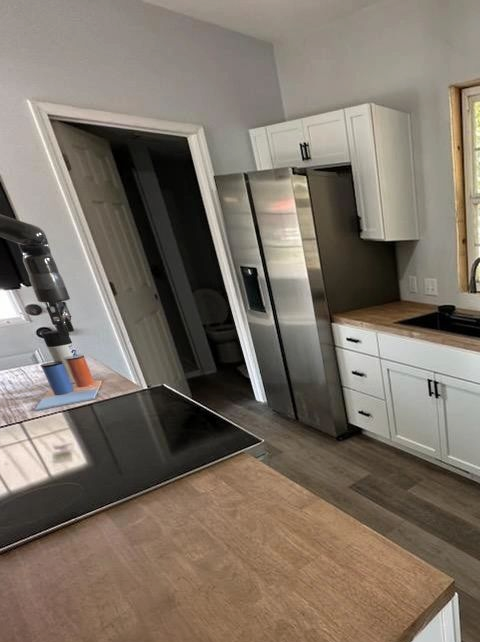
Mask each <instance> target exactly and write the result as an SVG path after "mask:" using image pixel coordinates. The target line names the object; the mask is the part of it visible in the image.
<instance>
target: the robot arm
mask: <svg viewBox="0 0 480 642" xmlns="http://www.w3.org/2000/svg"><path fill="white" fill-rule="evenodd" d="M0 238H3V239H5V240H8V241H11V242H14V243H16V244H17V245H18V248H19V250H20V252H21V254H22V262H23V265H24V267H25V269H26V272H27V275H28V278H29V279H28V280H29V283H30V285H31V288H32V290H33V293H34V295H35V297H36V300H37V301H38V302H39V303H47V304H48V306H46V310H47V313H48V315H49V318H50V320H51V324H52V325H53V326H55V327H56V330H58V332H59V334H60V336H61V337H64V336H69V337H70V333H72V332H74V331H75V328H74V326H73V323H72V314H71V313H70V311H69V307H68V305H67V302H66V301H69V300H70V298H71V297H70V295H69V292H68V290H67V287H66V285H65V284H66V283H65V282H64V279H63V277H62V275H61V274H60V272H59V270H58V266H57V263H56V261H55V259H54V257H53V255H52V252H51V248H50V245H49V241H48V238H47V235H46V233H45V232H44V230H43V229H42V228H40V227H39V226H37V225H35V224H32V223H29V222H25V221H22V220H18V219H16V218H13V217H12V218H11V217H10V216H6V215H3V214H0Z"/></svg>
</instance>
